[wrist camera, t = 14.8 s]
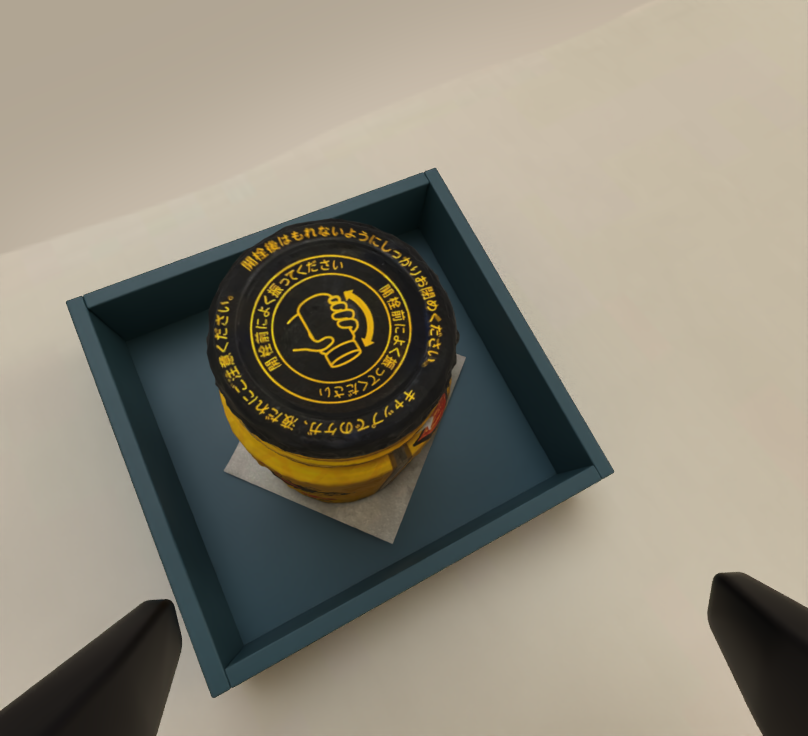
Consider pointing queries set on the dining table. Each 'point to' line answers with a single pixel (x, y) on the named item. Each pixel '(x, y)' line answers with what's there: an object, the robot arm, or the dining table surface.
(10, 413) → the dining table surface
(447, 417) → the tote
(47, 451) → the dining table surface
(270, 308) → the condiment
